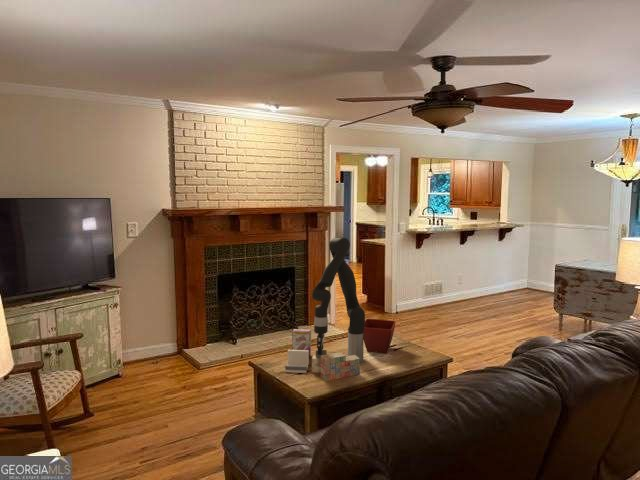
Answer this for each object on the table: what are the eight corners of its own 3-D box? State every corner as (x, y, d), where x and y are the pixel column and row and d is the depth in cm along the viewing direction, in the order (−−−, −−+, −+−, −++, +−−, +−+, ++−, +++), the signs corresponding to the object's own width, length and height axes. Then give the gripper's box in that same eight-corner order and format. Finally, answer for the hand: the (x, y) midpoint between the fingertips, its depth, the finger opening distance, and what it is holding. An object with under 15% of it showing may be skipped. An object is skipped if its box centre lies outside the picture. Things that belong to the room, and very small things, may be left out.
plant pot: (360, 352, 290) (360, 326, 288) (366, 342, 308) (366, 318, 306) (390, 356, 284) (391, 329, 282) (395, 345, 302) (395, 320, 300)
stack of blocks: (354, 370, 263) (354, 349, 261) (360, 374, 257) (360, 353, 256) (320, 376, 254) (320, 355, 253) (325, 381, 248) (325, 359, 247)
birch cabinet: (330, 369, 264) (330, 349, 262) (329, 373, 259) (329, 352, 257) (312, 368, 265) (312, 348, 263) (311, 372, 260) (311, 351, 258)
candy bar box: (292, 357, 282) (291, 331, 280) (293, 354, 287) (293, 328, 285) (310, 358, 281) (310, 331, 279) (311, 355, 286) (311, 329, 284)
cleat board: (308, 364, 270) (308, 349, 269) (306, 372, 259) (306, 357, 258) (288, 363, 272) (288, 349, 271) (284, 372, 260) (284, 356, 259)
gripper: (326, 328, 251) (325, 356, 253) (328, 320, 265) (328, 347, 267) (312, 327, 252) (312, 356, 254) (315, 320, 266) (315, 347, 268)
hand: (320, 351), depth 261 cm, fingers open, 8 cm apart
